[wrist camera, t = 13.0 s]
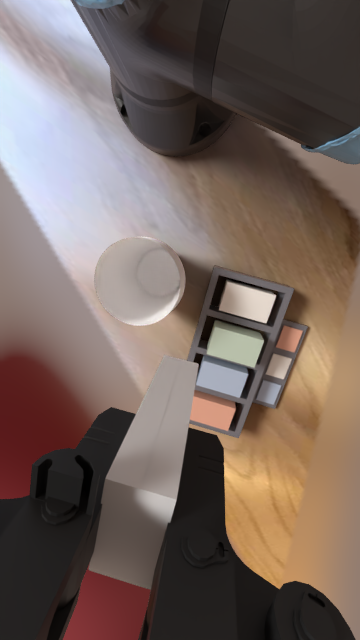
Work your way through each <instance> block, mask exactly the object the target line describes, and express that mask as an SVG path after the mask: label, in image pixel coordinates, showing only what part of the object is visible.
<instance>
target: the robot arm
mask: <svg viewBox="0 0 360 640" xmlns="http://www.w3.org/2000/svg"><path fill="white" fill-rule="evenodd" d="M71 2H72V3H73V5H74V7H75V8H76V10H77V12H78V14H79V15H80V17H81V19H82V20H83V22H84V24H85V26H86V27H87V29H88V31H89V32H90V34H91V36H92V38H93V39H94V41H95V43H96V44H97V46H98V48H99V50H100V51H101V53H102V55H103V56H104V58H105V60H106V62H107V63H108V65H109V67H110V76H111V86H112V93H113V97H114V101H115V104H116V107H117V109H118V112H119V114H120V116H121V118H122V119H123V121H124V123H125V124H126V126H127V127H128V129H129V130H130V131H131V133H132V134H133V135H134V136H135V138H136V139H137V140H138V141H139V142H141V143H142V144H143V145H144V146H146V147H147V148H149V149H151V150H153V151H155V152H157V153H160V154H163V155H168V156H185V155H190V154H193V153H196V152H199V151H201V150H203V149H205V148H207V147H208V146H210V145H211V144H212V143H214V142H215V141H216V140H217V139H218V138H219V137H220V136H221V135H222V134H223V133H224V132H225V130H226V129H227V128H228V126H229V125H230V123H231V122H232V120H233V118H234V116H235V114H236V113H237V114H239V115H241V116H243V117H245V118H247V119H249V120H251V121H254V122H256V123H258V124H260V125H262V126H264V127H266V128H268V129H270V130H272V131H275V132H277V133H279V134H281V135H283V136H285V137H287V138H289V139H291V140H294V141H296V142H298V143H300V144H301V147H302V148H303V149H305V150H306V151H308V152H319V153H322V154H324V155H326V156H329V157H331V158H334V159H336V160H338V161H341V162H344V163H347V164H359V163H360V0H71ZM198 366H199V364H198V363H194V362H190V361H186V360H182V359H178V358H175V357H171V356H167V355H164V357H163V359H162V361H161V363H160V365H159V367H158V369H157V371H156V373H155V376H154V378H153V380H152V382H151V384H150V386H149V388H148V390H147V392H146V394H145V396H144V399H143V401H142V403H141V405H140V407H139V409H138V411H137V413H136V414H134V413H130V412H126V411H123V410H119V409H115V408H112V407H111V408H109V409H108V410H106V411H104V412H103V413H101V414H99V415H98V417H97V418H96V420H95V421H94V422H93V424H92V426H91V428H89V430H88V431H87V433H86V434H85V436H84V438H82V440H81V441H80V443H79V444H78V446H77V447H76V449H70V448H67V449H60V450H55V451H52V452H50V453H48V454H45V455H43V456H42V457H41V458H39V459H38V460H37V461H36V462H35V463H34V464H32V473H31V485H30V495H29V496H26V497H23V498H15V499H0V640H63V637H64V634H65V632H66V629H67V627H68V624H69V622H70V619H71V617H72V614H73V611H74V608H75V606H76V604H77V600H78V596H79V591H80V586H81V582H82V580H83V577H84V575H85V572H86V570H87V567H88V565H89V562H90V565H89V570H90V571H93V572H96V573H99V574H103V575H106V576H109V577H112V578H115V579H118V580H121V581H125V582H128V583H131V584H134V585H137V586H140V587H144V588H147V589H150V590H151V592H150V597H149V602H148V607H147V611H146V614H145V618H144V621H143V625H142V628H141V632H140V635H139V639H138V640H355V638H354V636H353V634H352V632H351V630H350V628H349V626H348V624H347V623H346V622H345V620H344V618H343V617H342V615H341V613H340V612H339V610H338V609H337V608H336V607H335V606H334V605H333V603H332V602H330V600H329V599H328V598H327V597H326V596H325V595H324V594H323V593H321V592H320V591H318V590H316V589H315V588H313V587H312V586H311V585H309V584H305V583H301V582H297V581H293V582H289V583H285V584H283V586H282V587H281V588H280V589H278V588H276V587H275V586H274V585H272V584H271V583H269V582H268V581H266V580H265V579H263V578H262V577H260V576H259V575H258V574H256V573H255V572H253V571H252V570H251V569H250V568H249V567H247V566H246V565H245V564H244V563H243V562H242V561H241V559H240V558H239V557H238V556H237V555H236V553H235V551H234V550H233V548H232V546H231V544H230V542H229V539H228V537H227V533H226V526H225V489H224V465H223V464H224V448H223V446H222V444H221V442H220V441H219V439H218V437H217V435H214V434H210V433H206V432H203V431H199V430H196V429H192V428H188V427H189V421H190V415H191V409H192V403H193V396H194V390H195V384H196V378H197V372H198Z"/></svg>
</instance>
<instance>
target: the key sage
mask: <svg viewBox="0 0 360 640" xmlns="http://www.w3.org/2000/svg"><path fill="white" fill-rule="evenodd" d="M263 343H264V339H263V338H262V336H261V334H260V332H257V331H253V330H249V329H246V328H242V327H239V326H235V325H232V324H228V323H225V322H221V321H218V320H215V321H214V325H213V328H212V331H211V335H210V338H209V341H208V344H207V354H209V355H212V356H215V357H219V358H222V359H226V360H229V361H233V362H236V363H240V364H243V365H246V366H250V367H253V368H255V365H256V362H257V359H258V356H259V354H260V351H261V348H262V345H263Z"/></svg>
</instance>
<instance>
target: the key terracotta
mask: <svg viewBox="0 0 360 640" xmlns="http://www.w3.org/2000/svg"><path fill="white" fill-rule="evenodd" d="M235 410H236V406H235V402H234V401H231V400H228V399H224V398H221V397H218V396H214V395H211V394H207V393H204V392H201V391H197V390H194V396H193V403H192V409H191V415H190V420H193V421H196V422H199V423H203V424H206V425H209V426H212V427H216V428H219V429H222V430H226V431H228V429H229V427H230V424H231V421H232V418H233V415H234V413H235Z"/></svg>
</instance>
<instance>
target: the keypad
mask: <svg viewBox="0 0 360 640" xmlns="http://www.w3.org/2000/svg"><path fill="white" fill-rule="evenodd" d="M219 275H221V276H224V277H228V278H232V279H235V280H239V281H242V282H246V283H250V284H253V285H257V286H261V287H264V288H268V289H271V290H275V291H279V292H278V294H277V297H276V300H275V303H274V305H273V308H272V311H271V314H270V317H269V319H268V321H267V323H263V322H259V321H255V320H252V319H248V318H245V317H241V316H238V315H234V314H231V313H227V312H224V311H220V310H219V307H217V306H214V305H210V303H211V300H212V297H213V293H214V290H215V286H216V283H217V280H218V276H219ZM293 291H294V288H292V287H290V286H288V285H284V284H281V283H277V282H273V281H270V280H266V279H262V278H259V277H255V276H251V275H248V274H244V273H240V272H237V271H233V270H229V269H226V268H222V267H219V266H215V265H214V269H213V272H212V276H211V279H210V283H209V286H208V290H207V293H206V297H205V300H204V303H203V307H202V310H201V314H200V317H199V321H198V324H197V328H196V331H195V335H194V338H193V341H192V345H191V348H190V352H189V355H188V359H187V361H190V362H193V361H194V357H195V354H196V353H200V354H203V355H207V356H210V357H213V358H217V359H220V360H224V361H227V362H231V363H234V364H238V365H241V366H244V367H248V368H251V370H250V372H249V375H248V378H247V381H246V384H245V386H244V387H243V390H242V393H241V396H240V398H238V397H235V396H232V395H228V394H225V393H221V392H218V391H215V390H211V389H208V388H205V387H201V386H198V385H196V384H195V390H197V391H201V392H204V393H207V394H211V395H214V396H218V397H221V398H224V399H228V400H231V401H234V402H238V406H237V409H236V412H235V414H234V417H233V418H232V421H231V424H230V427H229V429H228V431H226V430H222V429H219V428H216V427H212V426H209V425H206V424H203V423H199V422H196V421H193V420H190V421H189V423H190V424H193V425H197V426H200V427H203V428H207V429H210V430H213V431H216V432H220V433H223V434H226V435H230V436H233V437H236V438H239V436H240V433H241V431H242V428H243V425H244V422H245V420H246V417H247V414H248V412H249V409H250V406H251V404H252V401H253V398H254V396H255V393H256V390H257V388H258V385H259V382H260V379H261V377H262V374H263V371H264V369H265V366H266V363H267V361H268V358H269V355H270V353H271V350H272V347H273V345H274V342H275V339H276V337H277V334H278V331H279V328H280V326H281V323H282V320H283V318H284V315H285V312H286V310H287V307H288V304H289V302H290V299H291V296H292V294H293ZM207 315H208V316H212V317H215V318H219V319H222V320H226V321H229V322H233V323H236V324H240V325H243V326H247V327H250V328H254V329H257V330H261V331H264V333H263V336H262V338H263V339H264V343H263V345H262V348H261V351H260V354H259V356H258V359H257V362H256V365H255V368H253V367H250V366H246V365H243V364H240V363H236V362H233V361H229V360H226V359H222V358H219V357H215V356H212V355H209V354H207V344H208V341H204V340H201V339H200V337H201V334H202V330H203V327H204V324H205V320H206V317H207ZM196 382H197V378H196Z"/></svg>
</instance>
